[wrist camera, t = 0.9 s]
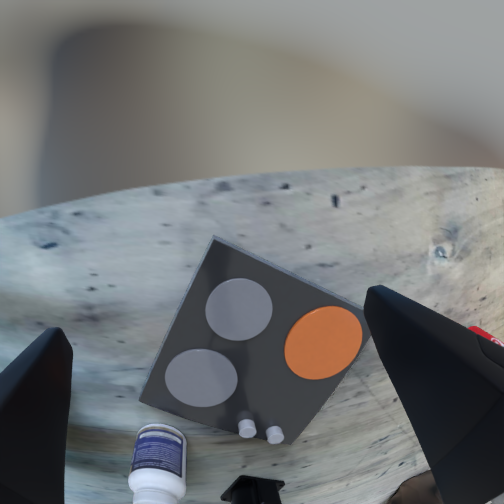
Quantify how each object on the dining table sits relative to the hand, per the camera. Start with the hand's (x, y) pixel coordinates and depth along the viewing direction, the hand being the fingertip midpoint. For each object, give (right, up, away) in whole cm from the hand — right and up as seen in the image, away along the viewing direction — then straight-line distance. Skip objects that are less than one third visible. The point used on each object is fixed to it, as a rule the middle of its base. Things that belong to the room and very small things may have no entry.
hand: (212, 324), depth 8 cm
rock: (+29, -38, +23) cm, 53 cm away
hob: (+1, -7, +18) cm, 19 cm away
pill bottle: (-9, -18, +19) cm, 27 cm away
